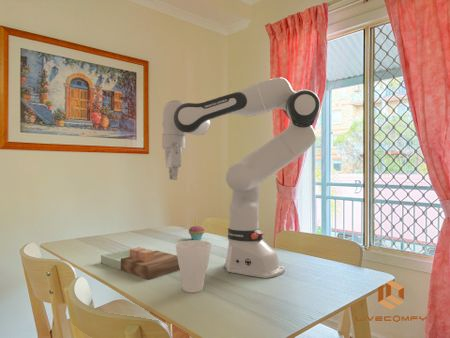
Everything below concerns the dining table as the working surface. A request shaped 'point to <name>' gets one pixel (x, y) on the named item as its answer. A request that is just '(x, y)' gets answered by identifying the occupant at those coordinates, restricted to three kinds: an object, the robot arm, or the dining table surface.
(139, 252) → the tile
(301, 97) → the robot arm
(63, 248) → the dining table surface
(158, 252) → the board
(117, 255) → the tray
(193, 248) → the cup
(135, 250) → the tile
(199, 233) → the cupcake
